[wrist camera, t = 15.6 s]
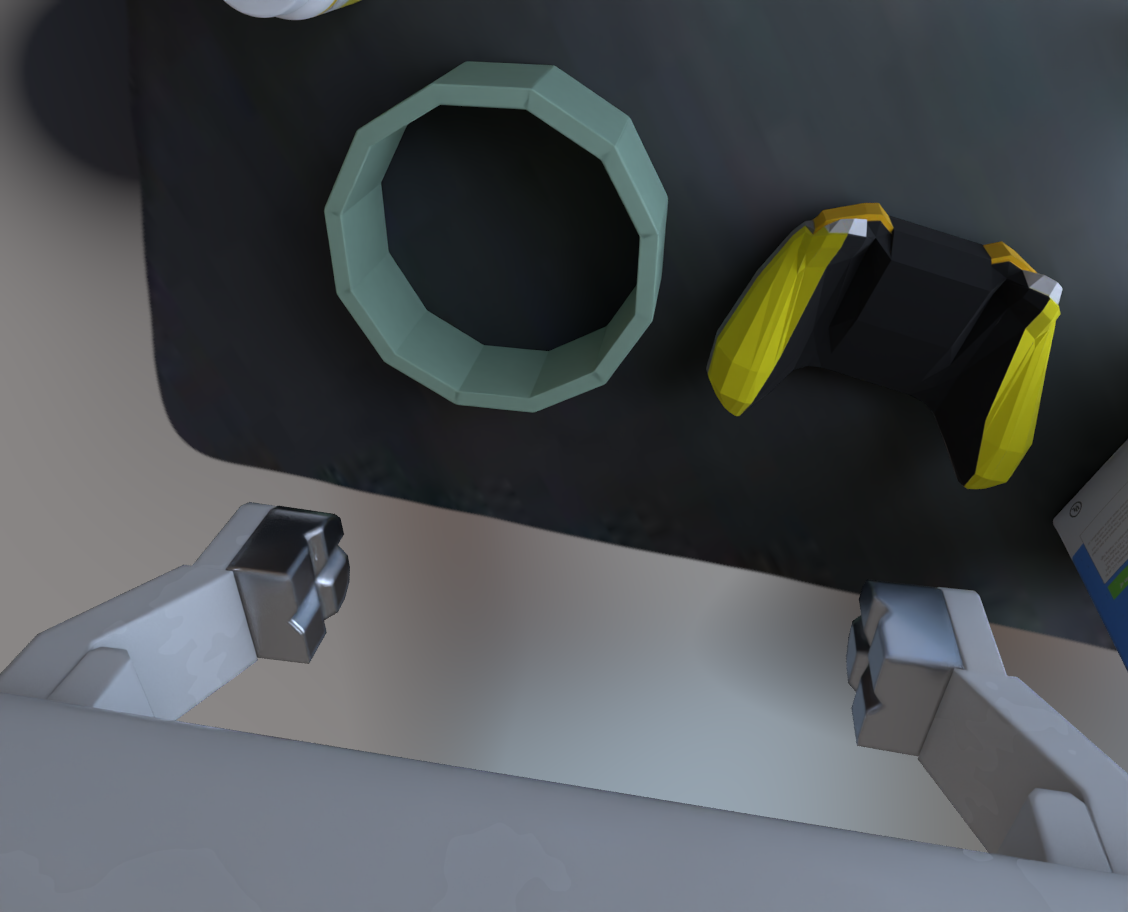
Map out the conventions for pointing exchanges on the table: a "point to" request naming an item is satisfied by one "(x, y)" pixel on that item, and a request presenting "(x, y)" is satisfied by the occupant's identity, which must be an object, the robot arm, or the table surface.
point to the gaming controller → (900, 329)
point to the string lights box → (1102, 543)
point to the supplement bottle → (287, 7)
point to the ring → (433, 343)
